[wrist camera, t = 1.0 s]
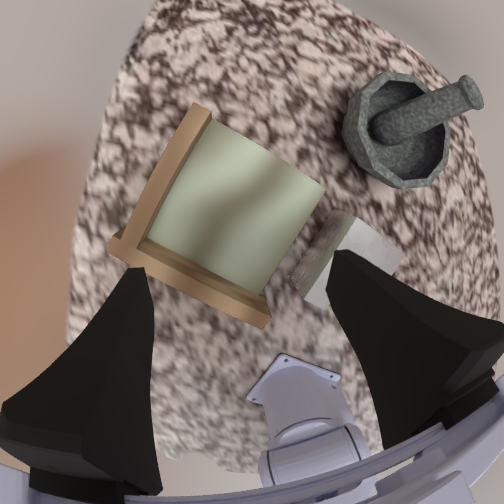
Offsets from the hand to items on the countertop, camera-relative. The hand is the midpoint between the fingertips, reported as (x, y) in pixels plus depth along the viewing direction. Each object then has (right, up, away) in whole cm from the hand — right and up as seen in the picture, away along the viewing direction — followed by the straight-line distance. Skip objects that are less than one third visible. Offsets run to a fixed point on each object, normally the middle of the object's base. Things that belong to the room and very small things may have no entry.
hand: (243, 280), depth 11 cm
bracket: (+9, 0, +18) cm, 20 cm away
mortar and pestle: (+12, +13, +14) cm, 23 cm away
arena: (-2, +4, +15) cm, 16 cm away
